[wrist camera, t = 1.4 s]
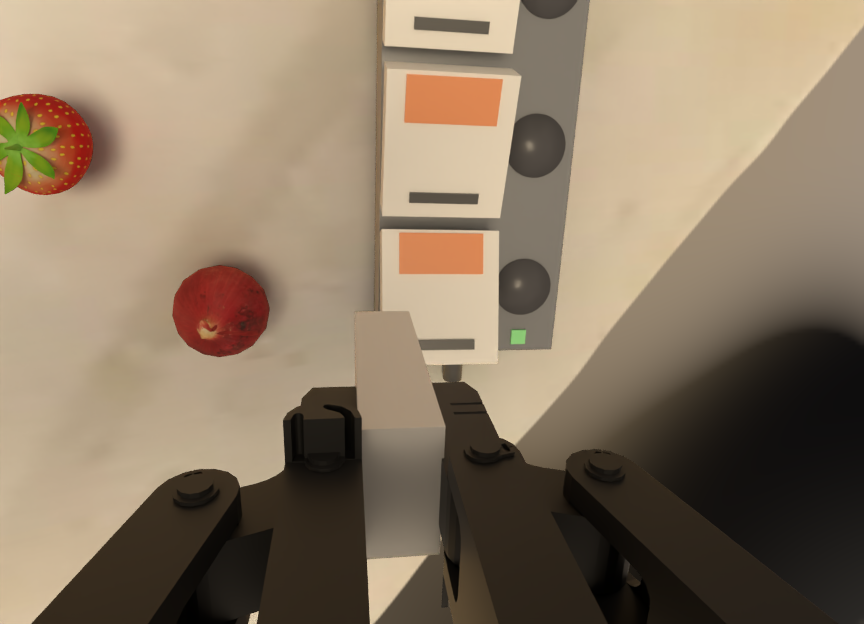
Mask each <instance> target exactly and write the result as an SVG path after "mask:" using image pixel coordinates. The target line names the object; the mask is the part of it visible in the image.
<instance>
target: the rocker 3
mask: <svg viewBox="0 0 864 624" xmlns="http://www.w3.org/2000/svg"><path fill="white" fill-rule="evenodd" d="M498 309H499V231H479V230H411V229H382V230H381V231H380V311H409V313H410V316H411V319H412V322H413V325H414V329H415V332H416V335H417V338H418V341H419V344H420V348H421V351H422V354H423V357H424V360H425V363H426V365H455V364H498Z"/></svg>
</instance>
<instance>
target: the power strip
mask: <svg viewBox="0 0 864 624" xmlns="http://www.w3.org/2000/svg"><path fill="white" fill-rule="evenodd" d="M589 2H590V0H520V4H519V11H518V18H517V26H516V33H515V40H514V47H513V54H508V53H492V52H476V51H460V50H444V49H428V48H412V47H396V46H384V43H383V40H382V34H383V0H377V83H376V178H375V273H374V311H380V231H381V230H382V229H411V230H479V231H499V309H498V350H536V349H551V346H552V337H553V328H554V319H555V310H556V301H557V291H558V282H559V273H560V264H561V255H562V246H563V237H564V228H565V219H566V210H567V201H568V192H569V183H570V174H571V165H572V156H573V147H574V138H575V129H576V119H577V110H578V101H579V92H580V83H581V74H582V65H583V56H584V47H585V38H586V29H587V20H588V11H589ZM385 61H393V62H410V63H427V64H445V65H462V66H479V67H496V68H512V69H513V70H515V71H516V72H517V73H518V74H520V75H521V82H520V89H519V96H518V102H517V109H516V116H515V122H514V129H513V136H512V142H511V149H510V155H509V162H508V169H507V175H506V182H505V189H504V195H503V202H502V208H501V215H500V218H462V217H407V216H382V211H381V205H380V193H381V160H382V128H383V95H384V63H385ZM461 375H462V364H455V365H444V370H443V379H444V380H445V381H448V382H458V381H460V380H461Z"/></svg>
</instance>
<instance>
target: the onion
mask: <svg viewBox="0 0 864 624" xmlns="http://www.w3.org/2000/svg"><path fill="white" fill-rule="evenodd" d="M268 316H269V304H268V301H267V298H266V295H265V292H264V289H263V288H262V287H261V286H260V285H259V284H258V283H257V282H256V281H255V279H254V278H253V277H252V276H250V275H248V274H246V273H244V272H243V271H241V270H239V269H237V268H233V267H227V266H221V265H219V266H214V267H208V268H203V269H200V270H198V271H196V272H195V273H194V274H192V275H191V276H189V277H188V278H186V279H185V280H184V281H183V282H182V284H181V286H180V288H179V289H178V291H177V293H176V294H175V297H174V304H173V319H174V322H175V325H176V328H177V332H178V334H179V335H180V336H181V337H182V339H183V340H184V341H185V342H186V343H187V345H188V346H190V347H191V348H193V349H195V350H197V351H199V352H200V353H202V354H205V355H211V356H216V357H223V356H228V355H234V354H239V353H240V352H242V351H244V350H246V349H247V348H249V347H251V346H253V344H254V343H255V342H256V341H257V339H258V338H259V337H260V335H261V334H262V333H263V332H264V330H265V329H266V327H267V321H268Z"/></svg>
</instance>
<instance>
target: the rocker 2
mask: <svg viewBox="0 0 864 624" xmlns="http://www.w3.org/2000/svg"><path fill="white" fill-rule="evenodd" d="M520 82H521V75H520V74H518V73H517V72H516V71H515V70H513V69H512V68H496V67H479V66H462V65H445V64H427V63H410V62H393V61H385V63H384V95H383V128H382V160H381V193H380V205H381V211H382V216H407V217H462V218H500V215H501V208H502V202H503V195H504V189H505V182H506V175H507V169H508V162H509V155H510V149H511V142H512V136H513V129H514V122H515V116H516V109H517V102H518V96H519V89H520Z"/></svg>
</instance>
